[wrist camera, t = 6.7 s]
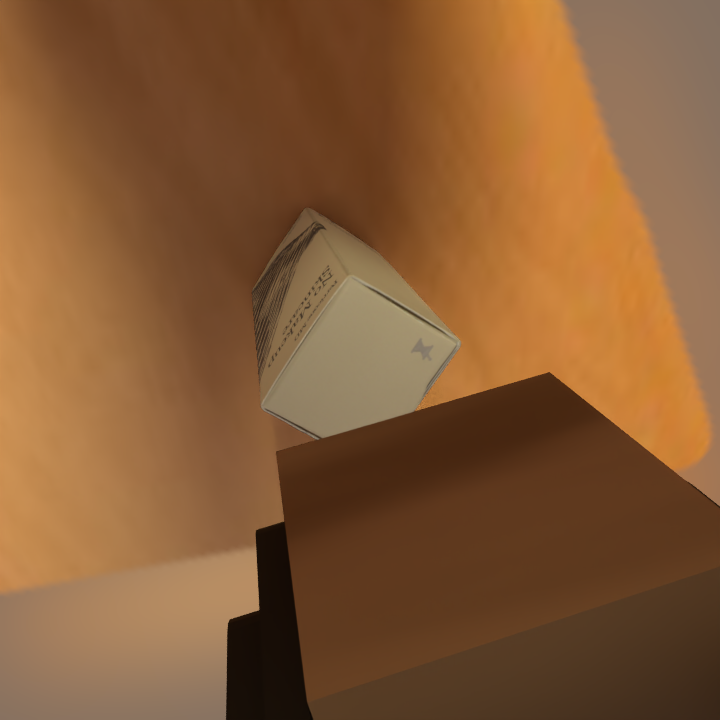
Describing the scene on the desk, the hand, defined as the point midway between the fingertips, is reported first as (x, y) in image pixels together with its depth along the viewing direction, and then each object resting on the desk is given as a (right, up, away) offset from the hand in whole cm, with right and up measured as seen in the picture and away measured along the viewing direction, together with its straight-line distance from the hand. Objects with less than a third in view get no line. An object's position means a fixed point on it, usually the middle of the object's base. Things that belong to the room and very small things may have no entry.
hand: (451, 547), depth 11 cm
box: (-4, +8, +19) cm, 21 cm away
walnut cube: (0, 0, +1) cm, 1 cm away
